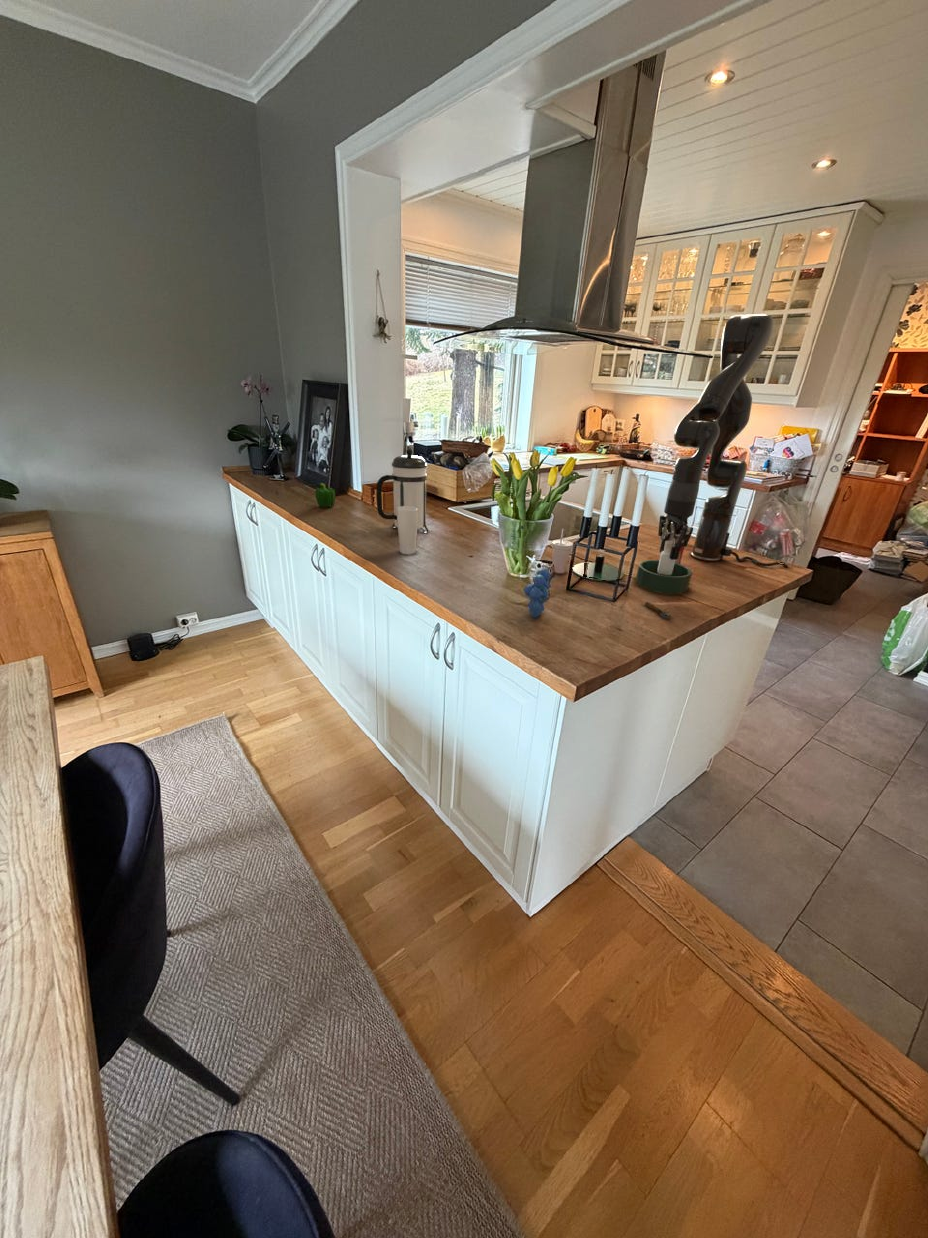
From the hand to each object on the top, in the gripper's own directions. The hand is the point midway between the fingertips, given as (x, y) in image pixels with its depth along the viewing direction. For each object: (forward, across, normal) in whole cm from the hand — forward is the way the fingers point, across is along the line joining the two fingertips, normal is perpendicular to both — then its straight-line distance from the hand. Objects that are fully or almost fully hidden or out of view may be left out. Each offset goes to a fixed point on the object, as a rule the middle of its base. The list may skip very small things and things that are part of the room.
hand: (668, 555), depth 141 cm
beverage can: (+10, +15, -11) cm, 21 cm away
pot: (+9, 0, 0) cm, 9 cm away
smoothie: (+9, +12, +28) cm, 32 cm away
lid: (+9, +10, +16) cm, 21 cm away
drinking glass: (+9, +33, +74) cm, 82 cm away
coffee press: (+9, +59, +73) cm, 94 cm away
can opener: (+9, -18, +11) cm, 23 cm away
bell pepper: (+9, +97, +107) cm, 145 cm away
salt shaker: (+6, 0, 0) cm, 6 cm away
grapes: (+9, -16, +44) cm, 48 cm away
